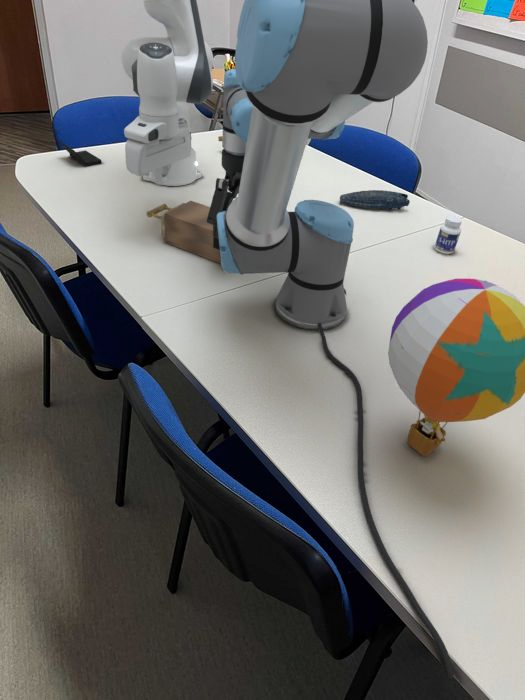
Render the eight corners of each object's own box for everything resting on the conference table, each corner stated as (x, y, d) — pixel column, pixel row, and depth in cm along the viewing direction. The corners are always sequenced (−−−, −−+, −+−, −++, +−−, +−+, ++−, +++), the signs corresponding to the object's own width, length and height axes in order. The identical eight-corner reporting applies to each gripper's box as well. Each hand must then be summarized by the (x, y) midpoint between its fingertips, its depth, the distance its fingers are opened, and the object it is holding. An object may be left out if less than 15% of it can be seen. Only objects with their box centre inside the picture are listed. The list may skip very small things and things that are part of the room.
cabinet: (165, 242, 132) (164, 213, 127) (191, 228, 139) (190, 200, 134) (233, 268, 124) (234, 238, 119) (256, 252, 132) (258, 223, 127)
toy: (336, 437, 84) (375, 278, 66) (409, 388, 95) (460, 239, 76) (438, 521, 73) (519, 358, 55) (507, 455, 84) (595, 300, 65)
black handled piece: (106, 156, 172) (85, 134, 163) (94, 173, 170) (73, 152, 162) (85, 152, 178) (64, 130, 170) (74, 169, 177) (52, 148, 168)
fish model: (408, 214, 157) (412, 198, 153) (339, 207, 158) (341, 191, 154) (406, 206, 162) (410, 190, 159) (339, 199, 163) (341, 183, 160)
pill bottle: (433, 251, 139) (442, 220, 133) (435, 243, 143) (444, 213, 137) (453, 256, 138) (464, 225, 132) (454, 247, 142) (465, 217, 136)
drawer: (143, 229, 135) (142, 207, 131) (167, 218, 141) (166, 196, 137) (224, 260, 125) (225, 237, 121) (245, 246, 132) (247, 224, 128)
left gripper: (177, 113, 129) (178, 168, 138) (118, 131, 115) (124, 191, 124) (197, 119, 127) (197, 174, 135) (140, 137, 113) (144, 198, 121)
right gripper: (255, 133, 123) (249, 216, 136) (189, 160, 106) (191, 252, 119) (282, 140, 120) (274, 225, 133) (220, 169, 103) (217, 263, 116)
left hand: (162, 183), depth 129 cm, fingers closed
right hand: (235, 238), depth 126 cm, fingers open, 13 cm apart
